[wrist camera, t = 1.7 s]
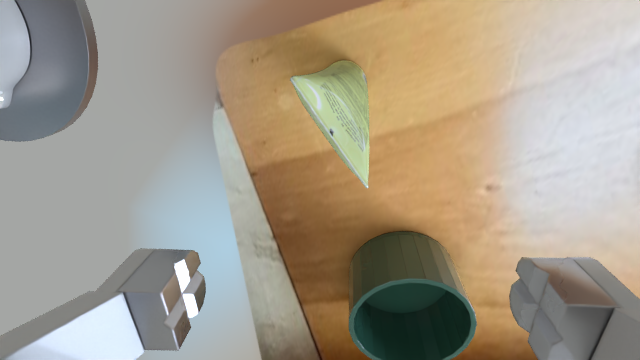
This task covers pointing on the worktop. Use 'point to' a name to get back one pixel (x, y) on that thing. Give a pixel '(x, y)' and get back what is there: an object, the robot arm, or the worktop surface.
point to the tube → (340, 111)
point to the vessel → (408, 300)
